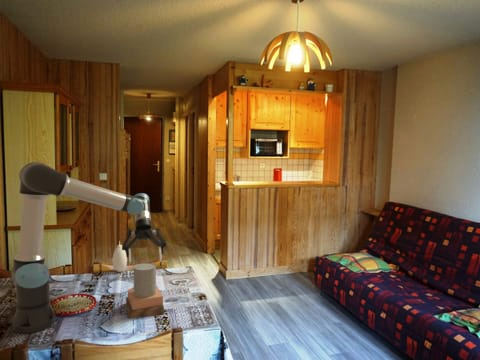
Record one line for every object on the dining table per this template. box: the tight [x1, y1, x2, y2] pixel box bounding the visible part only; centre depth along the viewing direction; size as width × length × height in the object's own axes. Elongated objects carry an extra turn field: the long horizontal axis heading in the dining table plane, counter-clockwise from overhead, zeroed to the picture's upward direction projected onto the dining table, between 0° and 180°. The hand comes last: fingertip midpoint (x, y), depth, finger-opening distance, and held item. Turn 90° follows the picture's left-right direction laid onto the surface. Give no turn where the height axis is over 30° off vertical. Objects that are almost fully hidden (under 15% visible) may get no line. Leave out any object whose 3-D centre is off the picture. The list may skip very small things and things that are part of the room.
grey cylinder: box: [133, 262, 157, 298], centre depth 163 cm, size 10×10×12 cm
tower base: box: [125, 296, 165, 319], centre depth 165 cm, size 15×15×4 cm
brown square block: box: [127, 285, 164, 310], centre depth 165 cm, size 13×13×4 cm
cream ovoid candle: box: [112, 240, 128, 273], centre depth 209 cm, size 8×8×18 cm
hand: (145, 261), depth 167 cm, fingers open, 13 cm apart
